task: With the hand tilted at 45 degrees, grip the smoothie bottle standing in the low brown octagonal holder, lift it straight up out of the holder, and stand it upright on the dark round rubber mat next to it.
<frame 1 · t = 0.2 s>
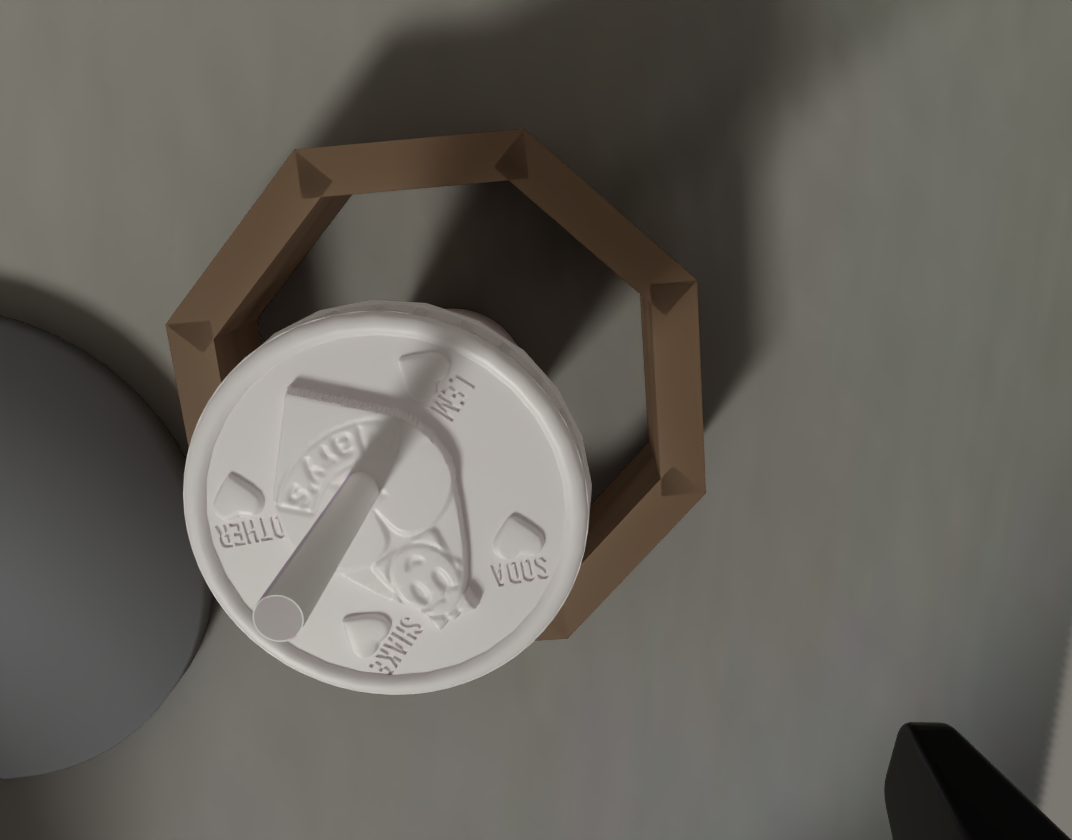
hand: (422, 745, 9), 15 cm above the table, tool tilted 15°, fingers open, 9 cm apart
brown octagonal holder: (454, 381, 23), on the table
smoothie: (455, 379, 24), resting in brown octagonal holder
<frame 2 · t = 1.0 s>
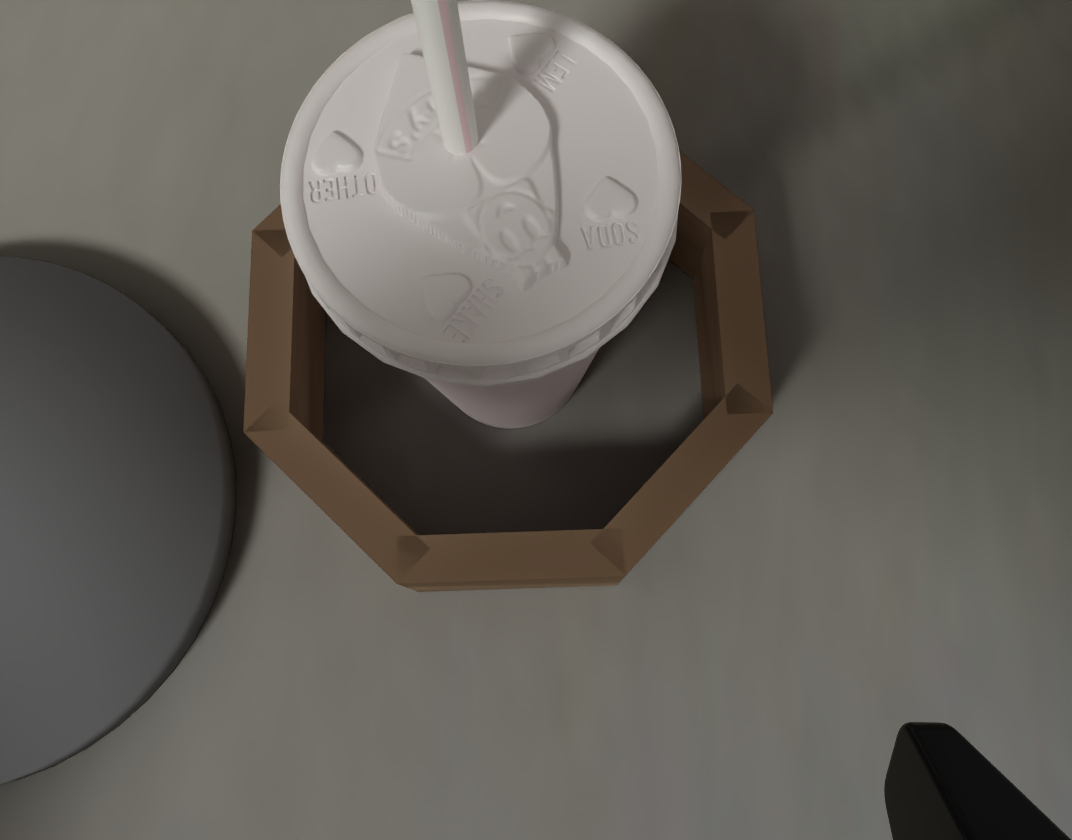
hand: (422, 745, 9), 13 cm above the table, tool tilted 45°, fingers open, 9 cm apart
brown octagonal holder: (511, 358, 24), on the table
smoothie: (511, 361, 24), resting in brown octagonal holder
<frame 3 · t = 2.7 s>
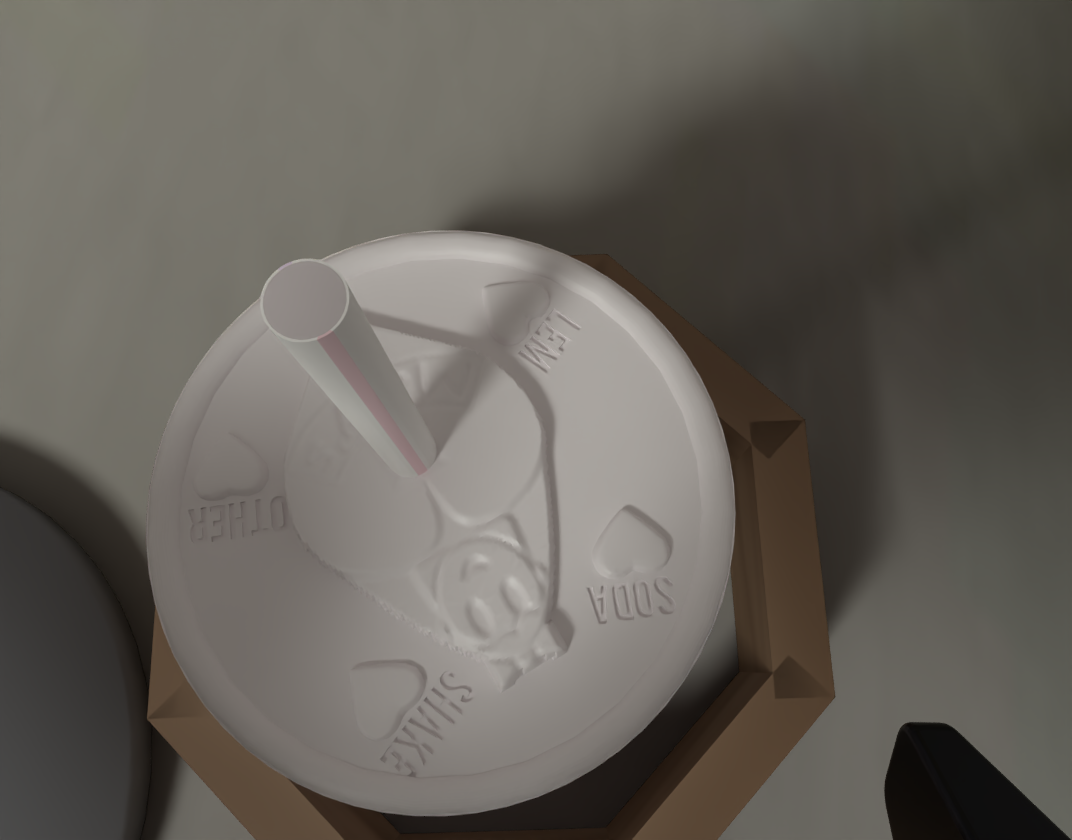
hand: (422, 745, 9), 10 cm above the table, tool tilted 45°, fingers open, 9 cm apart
brown octagonal holder: (497, 579, 19), on the table
smoothie: (498, 580, 19), resting in brown octagonal holder
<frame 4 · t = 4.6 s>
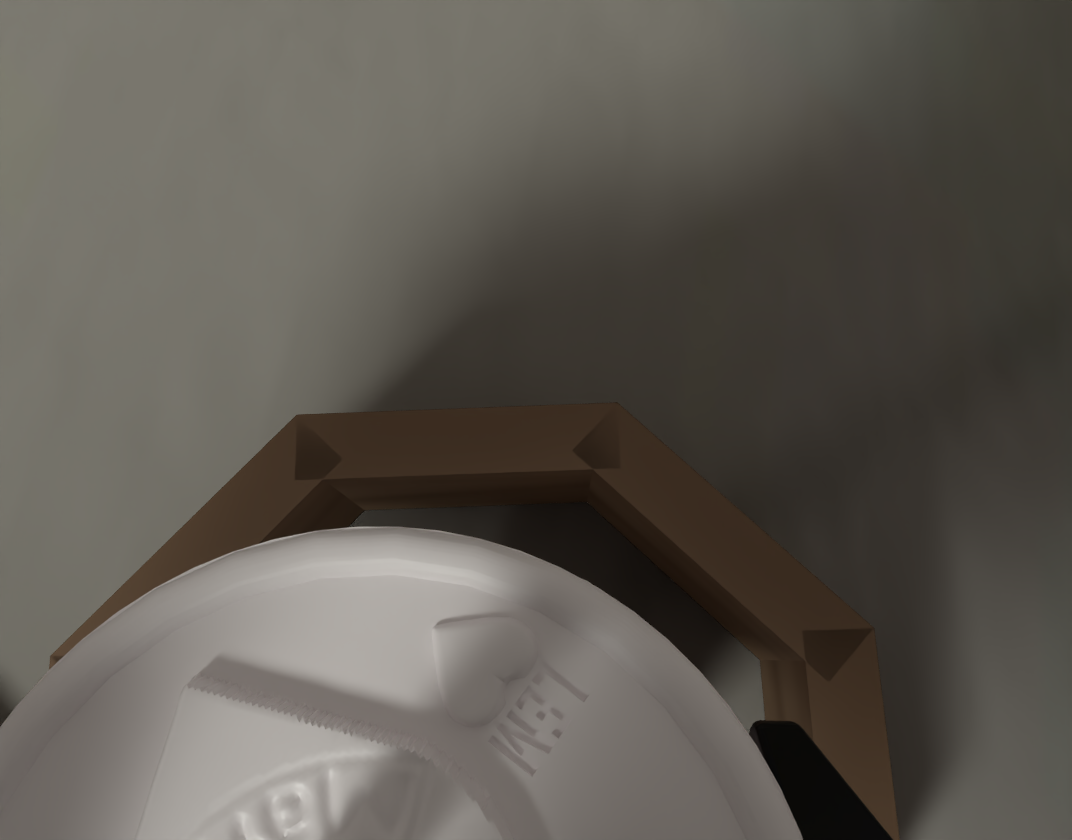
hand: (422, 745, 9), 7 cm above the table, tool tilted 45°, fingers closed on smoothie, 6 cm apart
brown octagonal holder: (480, 793, 15), on the table
smoothie: (481, 791, 16), resting in brown octagonal holder, touching gripper
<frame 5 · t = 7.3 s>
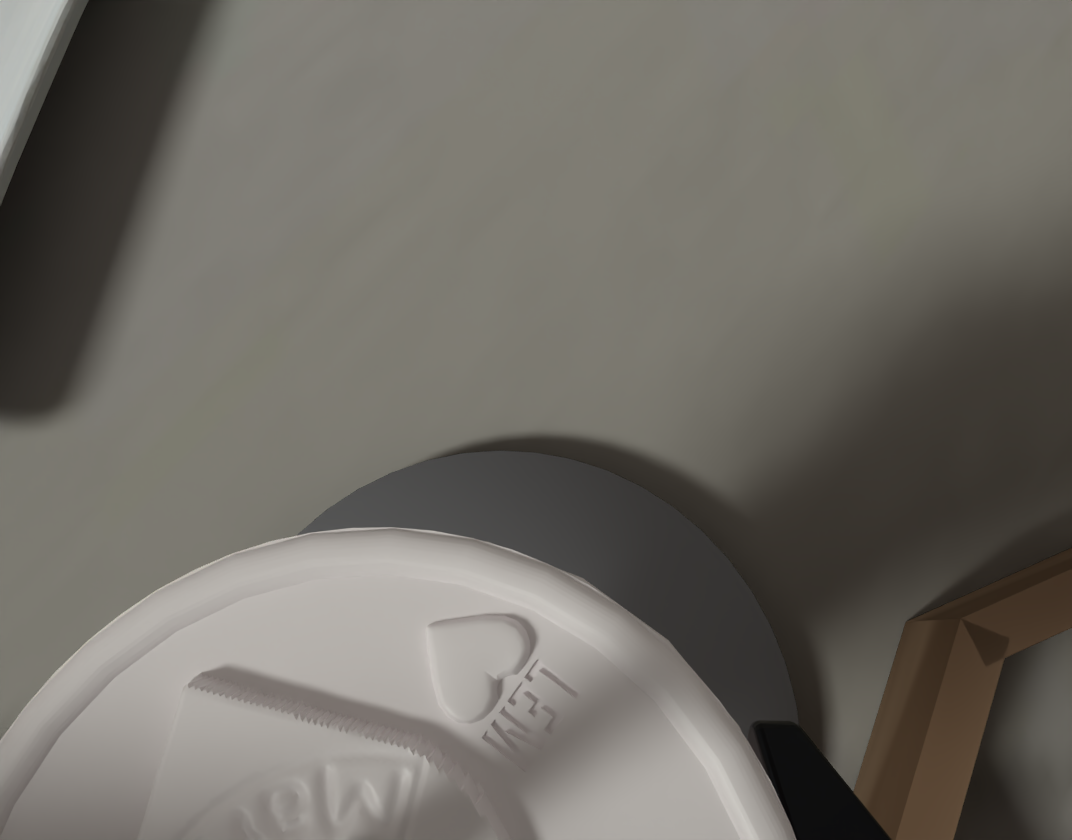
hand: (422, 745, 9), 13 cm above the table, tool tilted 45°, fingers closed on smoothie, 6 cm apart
rubber mat: (500, 741, 21), on the table
smoothie: (499, 785, 16), point 5 cm above the table, touching gripper
when the fingers open (9 cm above the table, at t = 8.9 s): smoothie stays where it is, resting on rubber mat.
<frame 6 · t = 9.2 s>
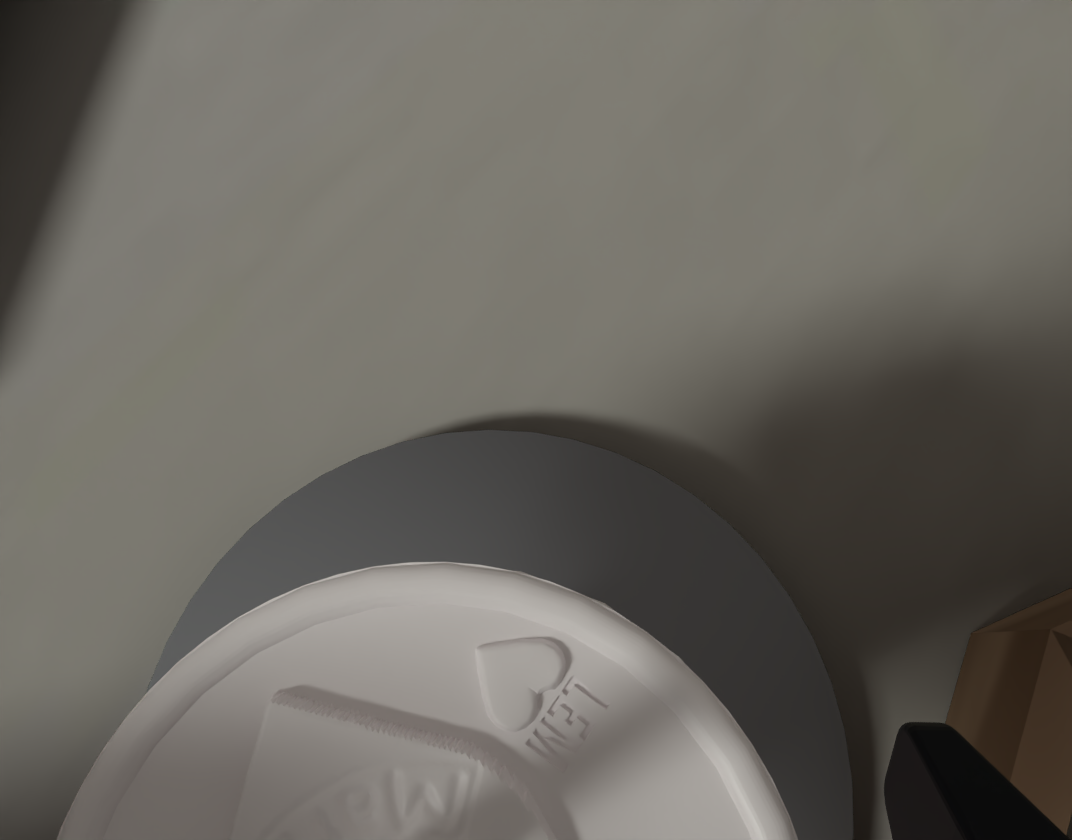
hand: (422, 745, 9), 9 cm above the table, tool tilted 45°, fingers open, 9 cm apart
rubber mat: (490, 775, 18), on the table
smoothie: (499, 786, 17), point 1 cm above the table, touching rubber mat
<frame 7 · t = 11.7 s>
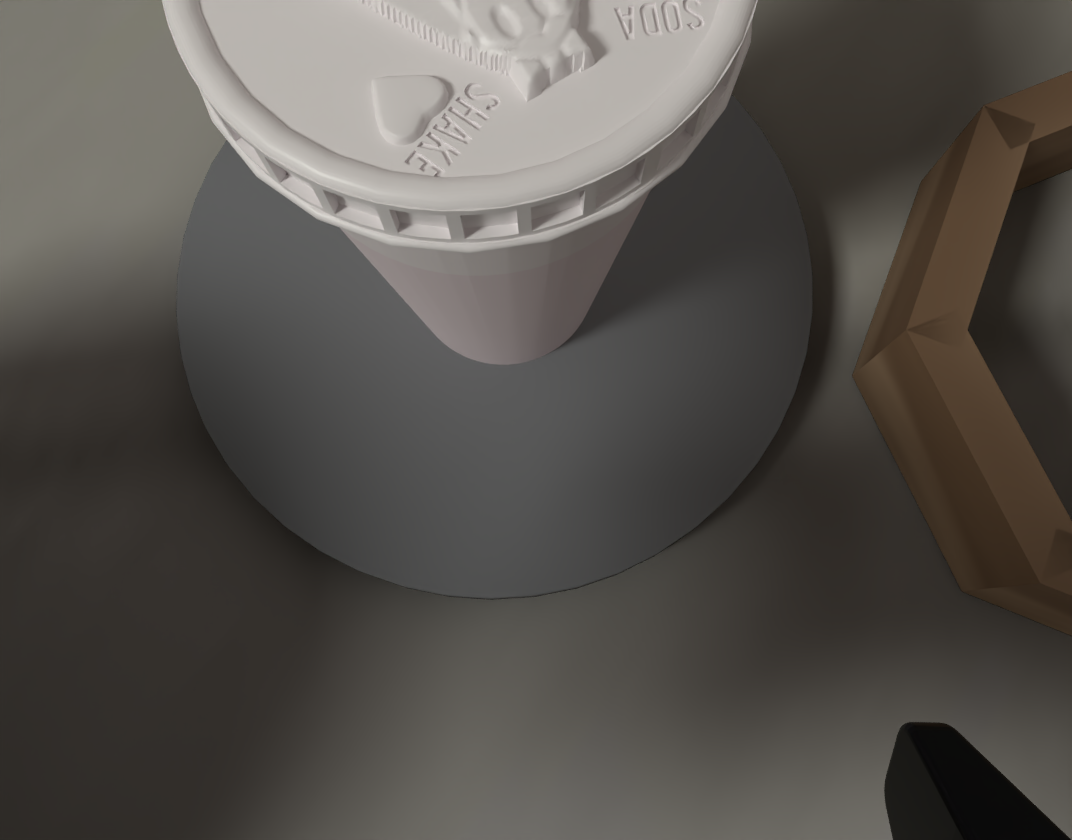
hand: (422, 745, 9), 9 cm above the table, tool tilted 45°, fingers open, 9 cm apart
rubber mat: (496, 291, 20), on the table
smoothie: (505, 282, 19), point 1 cm above the table, touching rubber mat
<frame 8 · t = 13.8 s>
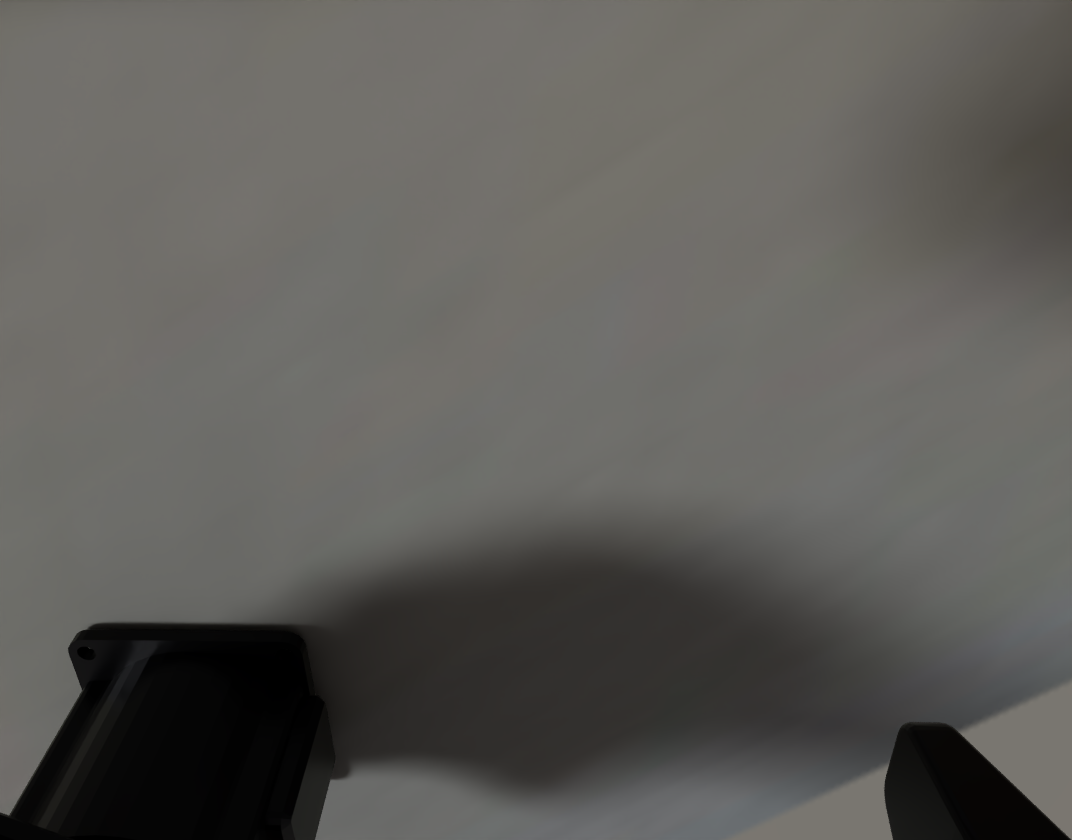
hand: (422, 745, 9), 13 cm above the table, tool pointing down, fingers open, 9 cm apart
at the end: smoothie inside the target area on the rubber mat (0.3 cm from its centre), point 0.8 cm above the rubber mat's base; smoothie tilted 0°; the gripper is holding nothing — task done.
